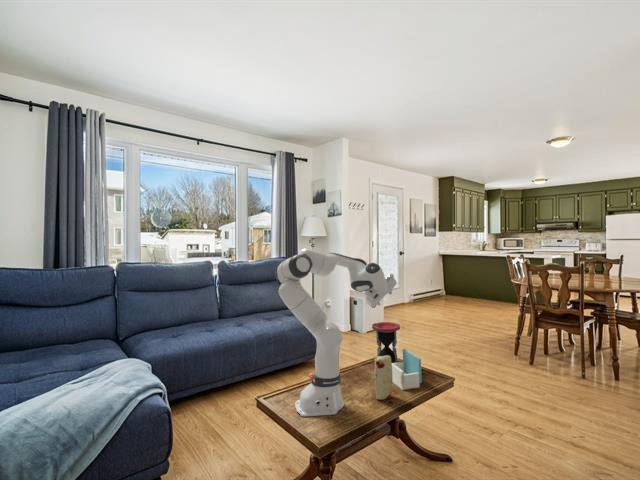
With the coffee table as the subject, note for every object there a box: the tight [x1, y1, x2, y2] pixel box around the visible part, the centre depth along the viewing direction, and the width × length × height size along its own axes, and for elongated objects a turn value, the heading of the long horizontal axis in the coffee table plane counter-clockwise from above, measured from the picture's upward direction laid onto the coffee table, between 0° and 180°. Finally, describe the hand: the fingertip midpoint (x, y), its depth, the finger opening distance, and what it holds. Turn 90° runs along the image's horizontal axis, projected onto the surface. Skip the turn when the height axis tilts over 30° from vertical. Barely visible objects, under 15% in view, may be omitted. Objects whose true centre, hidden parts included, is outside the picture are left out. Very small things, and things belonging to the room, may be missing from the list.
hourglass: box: [371, 321, 401, 370], centre depth 194 cm, size 16×16×25 cm
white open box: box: [392, 361, 420, 391], centre depth 174 cm, size 10×17×9 cm, turn 15°
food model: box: [373, 355, 393, 400], centre depth 157 cm, size 10×7×20 cm
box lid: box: [402, 348, 423, 384], centre depth 175 cm, size 2×17×12 cm, turn 14°
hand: (384, 298), depth 185 cm, fingers open, 8 cm apart
